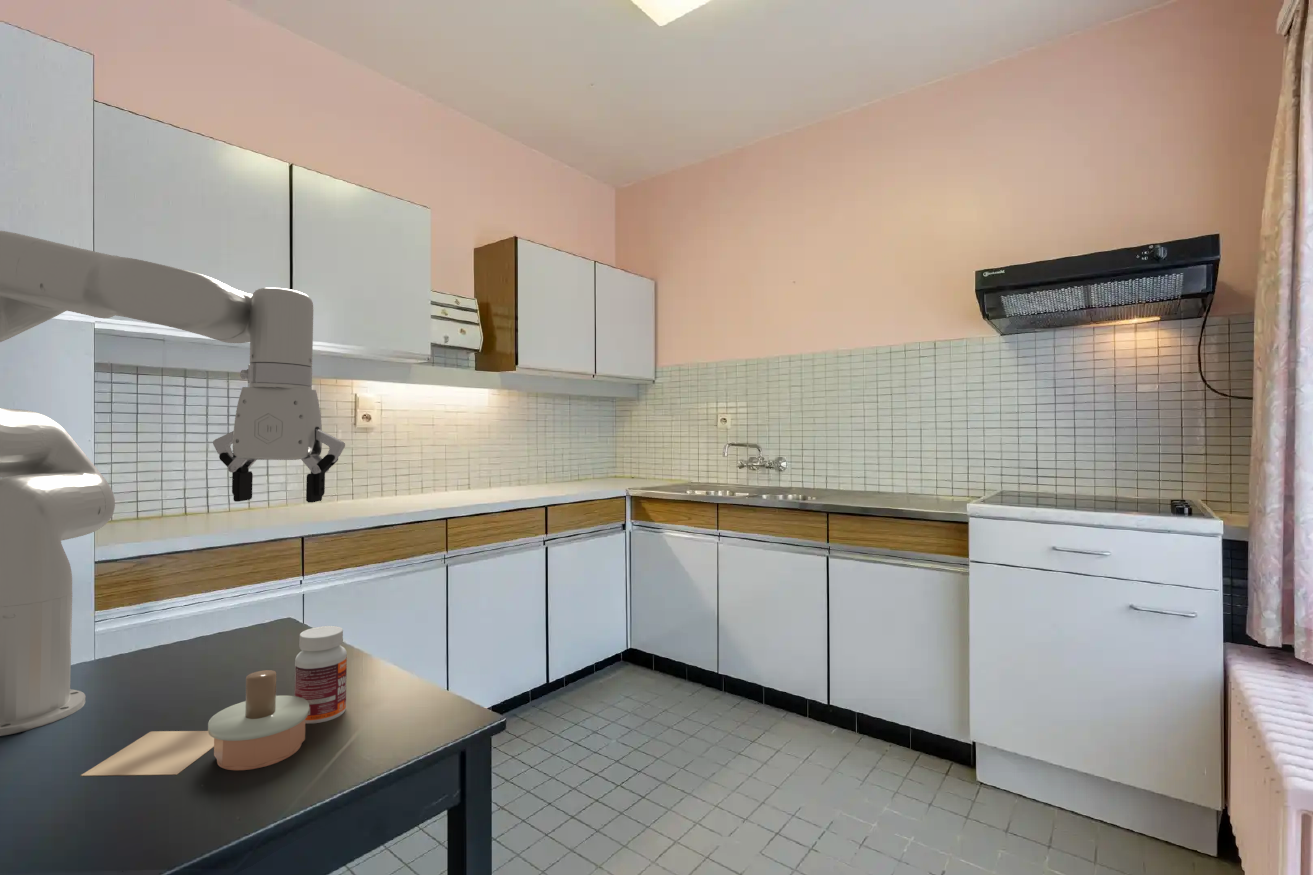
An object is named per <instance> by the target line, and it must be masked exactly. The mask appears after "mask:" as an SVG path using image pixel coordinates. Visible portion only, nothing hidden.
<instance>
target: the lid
mask: <svg viewBox="0 0 1313 875" xmlns="http://www.w3.org/2000/svg"><path fill="white" fill-rule="evenodd" d="M308 714H309V702H308V701H307V700H306V699H304V698H301V697H297V696H294V695H277V672H276V670H271V669H270V670H269V669H267V670H266V669H265V670H259V671H255V672H254V671H253V672H251V673H249V674H248V675H246V677H245V700H244V701H241V702H239V703H235V704H232V705H230V706H228V707H225V708H224V709H221V710H220V711H218V712H216V713H215V714H213V716H211V717H210V718H209V721H208V722H207V731H208V733H209V735H210V736H211V737H213V738H216V739H219V740H227V741H241V740H250V739H256V738H261V737H266V736H270V735H273V734H276V733H279V732H282V731H285V730H287V729H290V728H292V727H294V726H296V725H297V724H299V723H300V722H302V721H303V720H304V719H305V718H306V717H307V716H308Z"/></svg>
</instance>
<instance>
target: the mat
mask: <svg viewBox="0 0 1313 875" xmlns="http://www.w3.org/2000/svg"><path fill="white" fill-rule="evenodd" d="M212 749H214V738H213V737H211V736H210V735H209V733H208V730H179V731H178V730H176V731H175V730H170V731H169V730H164V731H163V730H159V731H157V730H156V731H155V730H154V731H153V730H152V731H149V732H147V733H146V734H144V735H143V736H142V737H140V738H138V739H136V740H134V741H133V742H131V743H130V744H128V745H127V746H125V747H124V748H122V749H120V750H119V751H117V752H115V753H114V754H113V755H110V756H109V757H107V758H106V759H104V760H103V761H101V762H99V763H98V764H97V765H95V766H92V768H90V769H88V770H87V771H85V772H84V773H81V774H80V777H100V776H101V777H103V776H104V777H106V776H107V777H111V776H112V777H114V776H115V777H116V776H118V777H120V776H121V777H123V776H126V777H127V776H178V775H179V774H180V773H182V772H183V771H184V770H185V769H186V768H187V769H188V768H189V766H191V765H192V764H193V763H195V762H196V761H197V760H198V759H200V758H201V757H203V756H204V755H205V754H207V753H208V752H209V751H211V750H212Z"/></svg>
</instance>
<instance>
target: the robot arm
mask: <svg viewBox="0 0 1313 875" xmlns="http://www.w3.org/2000/svg"><path fill="white" fill-rule="evenodd" d="M65 312H71V313H76V314H79V315H80V314H81V315H85V316H89V317H94V318H99V319H110V318H112V317H115V316H117V317H123V318H128V319H132V320H133V319H134V320H138V321H142V322H147V323H151V324H156V325H160V326H165V327H169V328H173V329H177V330H181V331H186V332H189V333H192V334H195V335H196V334H197V335H200V336H203V337H206V338H210V339H212V340H214V341H218V342H222V343H227V344H246V343H249V364H248V365H247V366H248V369H242V370H241V371H240V373H239V374H240V379H242V380H247V383H248V386H242V388H241V389H240V390H241V391H240V394H239V398H238V401H237V407H236V411H235V417H234V423H233V431H232V430H231V432H228V433H227V434H224V435H221V436H220V437H218V438H215V439H214V440H213V442H212V444H213V447H214V449H215V450H216V452H217V455H219V456H218V458H219V460H220V461H221V462H222V463H223V464H224V465H225V466H226V467H227V471H228V472H230V473H231V475H232V476H231V478H232V479H231V480H232V481H231V493H232V496H233V499H232V500H233V501H234V502H244V501H250V500H252V498H253V475H254V474H253V472H252V471H249V469H250V468H251V467H252V466H253V464H254V463H255V462H256V461H257V460H260V461H261V460H262V461H263V460H265V461H266V460H269V461H274V460H275V461H277V460H278V461H296V460H297V461H298V460H301V461H302V462H303V463H304V464H305V466H306V467H307V468H308V469H309V471H310V473H307V475H306V485H305V486H306V489H305V491H306V492H305V495H306V496H305V498H306V499H305V501H306V502H307V503H308V504H309V503H317V502H321V501H323V496H324V495H325V491H326V490H325V488H326V487H325V485H326V484H325V483H326V473H328V472H329V471H330V469H331V468H333V466H334V465H335V464H336V463H337V462H338V461H339V457H340V456H341V454H342V453H343V451H344V449H345V447H346V443H345V442H344V441H342V440H340V439H338V438H337V437H335V436H333V435H331V434H329V433H327V432H326V431H324V430H323V428H322V416H321V414H322V413H321V407H320V404H319V403H320V402H319V397H318V394H317V390H316V389H313V387H312V386H313V344H314V302H313V300H312V298H311V297H310V296H309V295H308V294H306V293H303V292H301V291H298V290H296V289H295V290H294V289H289V288H283V287H282V288H281V287H261V288H258V289H255V291H254V292H253V293H247V292H244V291H242V290H238V289H236V288H234V287H231V286H230V285H228V284H226V283H223V282H221V281H220V280H218V279H215V278H213V277H210V276H207V275H204V274H201V273H198V272H193V271H189V270H186V269H182V268H178V267H173V266H171V265H170V266H169V265H165V264H159V263H156V262H153V261H152V262H151V261H148V260H143V259H137V258H133V257H124V256H118V255H112V254H108V253H104V252H98V251H95V250H94V251H93V250H89V249H86V248H80V247H77V246H71V245H67V244H64V243H59V242H57V241H50V240H46V239H42V238H40V237H35V236H30V235H25V234H20V233H16V232H11V231H7V230H0V343H2V342H5V341H7V340H9V339H12V338H13V337H15V336H18V335H20V334H22V333H23V332H26V331H28V330H31V329H33V328H34V327H37V326H39V325H41V324H43V323H45V322H47V321H50V320H52V319H53V318H56V317H58V316H59V315H61V314H63V313H65ZM323 444H324V445H326V446H328V452H327V454H326V455H324V456H323V457H321V456H320V455H321V454H322V451H323V450H322V448H323V447H322V446H323ZM231 446H232V448H231ZM115 508H116V500H115V496H114V492H113V490H112V487H111V485H110V484H109V483H108V481H107V480H106V478H105V477H104V476H103V475H102V473H101V472H100V471H99V469H98V468H97V467H96V465H94V463H93V462H92V461H91V459H90V458H89V457H88V456H87V454H86V453H85V452H84V451H83V450H82V448H81V447H80V446H79V445H78V443H77V442H76V441H75V440H74V438H73V437H72V436H71V435H70V434H69V433H68V431H67V430H66V429H65V428H64V427H63V426H62V425H61V424H59V423H58V422H56V421H55V420H54V419H52V418H51V417H48V416H47V415H45V414H43V413H39V412H36V411H33V410H26V409H18V408H4V407H0V737H3V736H8V735H13V734H17V733H21V732H22V733H23V732H26V731H30V730H32V729H35V728H39V727H42V726H45V725H49V724H53V723H54V722H57V721H59V720H62V719H65V718H67V717H68V716H71V715H73V714H74V713H77V712H78V711H79V710H81V709H82V708H83V707H84V706H85V704H86V694H85V693H84V691H83V692H82V691H81V690H78V689H71V677H72V676H71V672H72V671H71V670H72V667H71V666H72V665H71V664H72V624H73V623H72V622H73V621H72V620H73V619H72V618H73V572H72V568H71V564H70V560H69V558H68V556H67V554H66V552H65V550H64V547H63V544H62V541H66V540H71V539H76V538H78V537H79V538H80V537H82V536H83V537H84V536H87V535H90V534H93V533H95V532H97V531H98V530H101V528H103V527H104V526H106V525H107V523H108V522H109V521H110V520H111V518H112V516H113V515H114V512H115Z"/></svg>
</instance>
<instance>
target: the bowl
mask: <svg viewBox="0 0 1313 875" xmlns="http://www.w3.org/2000/svg"><path fill="white" fill-rule="evenodd" d="M305 740H306V723H305V719H304V720H303V721H302V722H300V723H299V724H297V725H296V726H294V727H292V728H290V729H287V730H285V731H282V732H279V733H276V734H273V735H270V736H266V737H261V738H256V739H250V740H241V741H227V740H219V739H216V738H214V747H213V756H214V757H215V759H216V764H217V765H218V766H219V767H220V768H222V769H225V770H228V771H246V770H248V771H249V770H255V769H259V768H263V767H267V766H268V767H269V766H271V765H274V764H277V763H279V762H282V761H283V760H287V759H288V758H291V756H292V755H294V754H295V753H297V752H298V751H299V749H300V748H301V746H302V743H303V742H304V741H305Z"/></svg>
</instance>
